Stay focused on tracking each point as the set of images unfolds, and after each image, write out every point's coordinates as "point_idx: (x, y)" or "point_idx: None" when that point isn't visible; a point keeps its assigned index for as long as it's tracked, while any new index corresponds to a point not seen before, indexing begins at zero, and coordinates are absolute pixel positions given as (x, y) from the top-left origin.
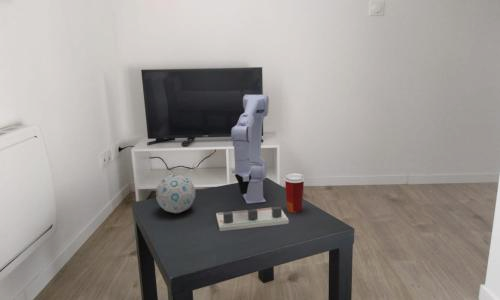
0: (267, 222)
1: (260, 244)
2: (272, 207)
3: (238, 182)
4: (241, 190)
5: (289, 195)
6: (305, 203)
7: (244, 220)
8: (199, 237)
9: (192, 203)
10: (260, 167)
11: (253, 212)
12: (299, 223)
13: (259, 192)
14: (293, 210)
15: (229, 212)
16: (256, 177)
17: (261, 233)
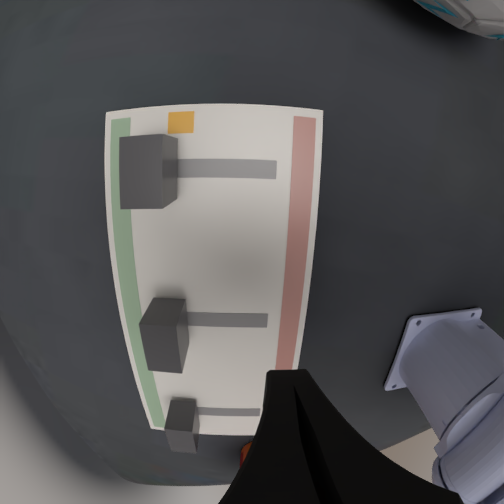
0: (132, 366)
1: (9, 283)
2: (190, 433)
3: (222, 500)
4: (265, 404)
5: None
6: None
7: (162, 271)
8: (93, 26)
9: (429, 7)
10: (470, 500)
11: (145, 347)
12: (155, 437)
13: (416, 398)
14: (243, 454)
15: (152, 186)
16: (461, 446)
17: (75, 312)
